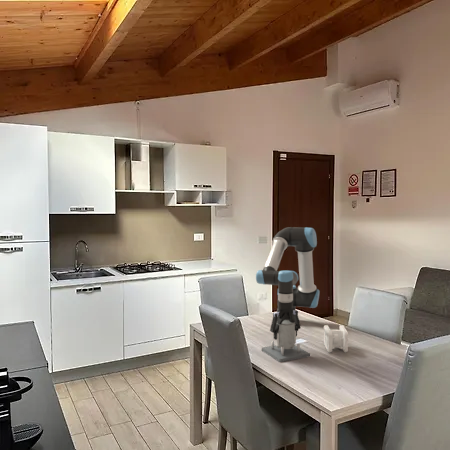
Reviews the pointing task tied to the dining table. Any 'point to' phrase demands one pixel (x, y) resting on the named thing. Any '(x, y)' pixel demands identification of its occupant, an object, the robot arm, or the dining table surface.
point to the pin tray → (285, 352)
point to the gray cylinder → (286, 335)
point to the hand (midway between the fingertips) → (285, 343)
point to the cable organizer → (335, 338)
